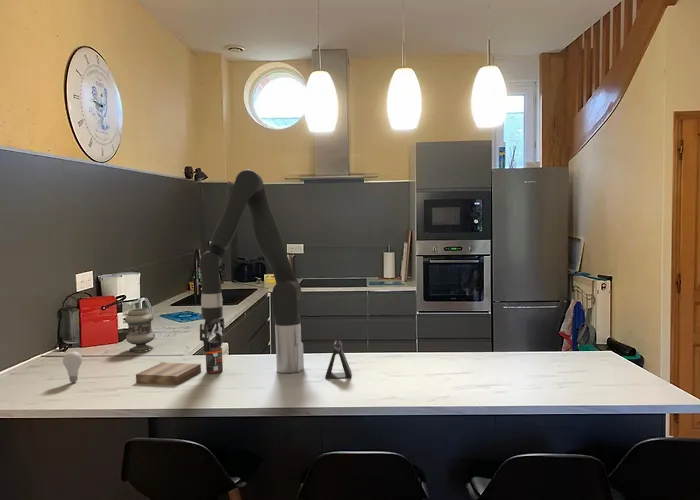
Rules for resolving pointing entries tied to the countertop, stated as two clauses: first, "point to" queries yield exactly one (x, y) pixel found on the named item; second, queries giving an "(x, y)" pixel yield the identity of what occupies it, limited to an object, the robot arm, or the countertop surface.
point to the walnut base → (168, 373)
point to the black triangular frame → (344, 363)
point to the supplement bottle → (214, 358)
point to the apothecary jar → (139, 329)
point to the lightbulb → (72, 365)
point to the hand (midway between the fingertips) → (212, 348)
